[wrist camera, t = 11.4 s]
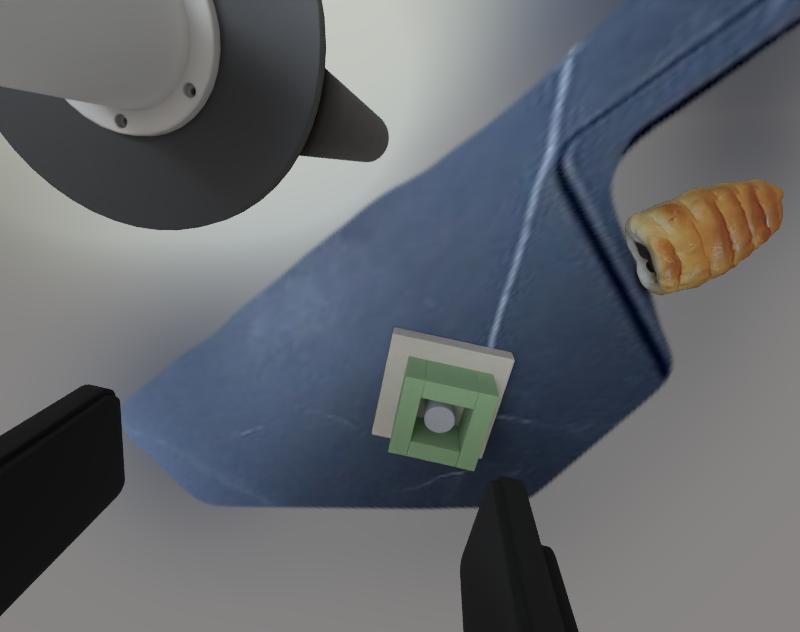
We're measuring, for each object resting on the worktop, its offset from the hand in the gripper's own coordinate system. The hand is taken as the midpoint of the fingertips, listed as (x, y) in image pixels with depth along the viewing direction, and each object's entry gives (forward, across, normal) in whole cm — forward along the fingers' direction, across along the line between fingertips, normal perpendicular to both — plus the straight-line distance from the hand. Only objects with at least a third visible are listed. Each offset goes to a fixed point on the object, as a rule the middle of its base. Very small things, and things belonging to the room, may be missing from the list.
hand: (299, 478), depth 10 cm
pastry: (+23, -20, -7) cm, 32 cm away
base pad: (+23, -6, +10) cm, 26 cm away
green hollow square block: (+22, -6, +10) cm, 25 cm away
